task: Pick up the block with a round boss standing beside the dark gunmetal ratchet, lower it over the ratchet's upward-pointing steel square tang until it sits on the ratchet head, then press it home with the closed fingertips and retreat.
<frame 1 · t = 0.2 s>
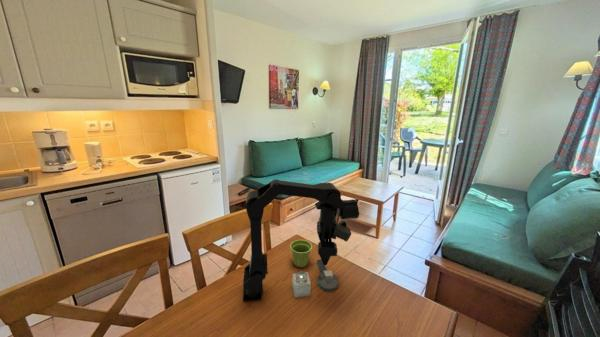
hand: (324, 256, 88), 14 cm above the table, tool pointing down, fingers open, 9 cm apart
block with round boss: (301, 290, 90), on the table
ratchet: (327, 283, 93), on the table
plant pot: (300, 263, 105), on the table
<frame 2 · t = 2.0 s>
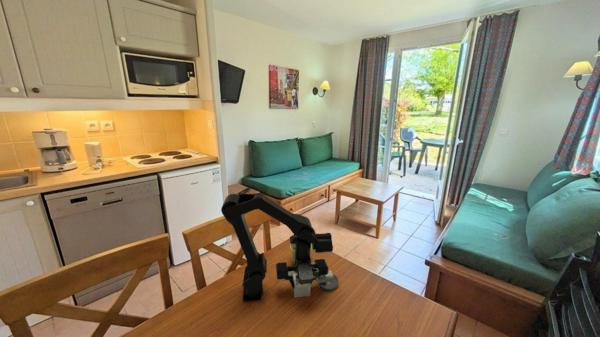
hand: (301, 287, 89), 2 cm above the table, tool pointing down, fingers closed on block with round boss, 6 cm apart
block with round boss: (301, 290, 90), on the table, touching gripper
everything else where it was.
when the fingers open (5 cm above the table, at t = 6.1 s): block with round boss drops 2 cm, resting on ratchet.
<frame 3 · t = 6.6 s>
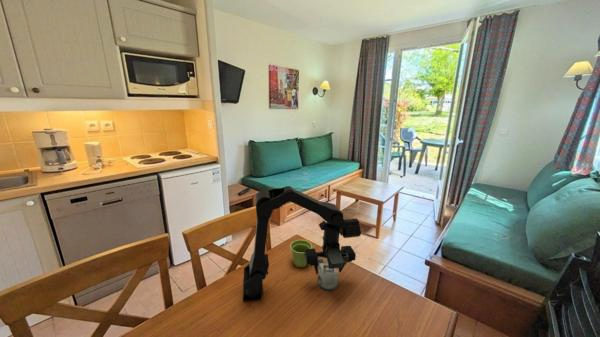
hand: (328, 273, 92), 5 cm above the table, tool pointing down, fingers open, 9 cm apart
block with round boss: (327, 279, 93), point 2 cm above the table, touching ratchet
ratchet: (327, 283, 93), on the table, touching block with round boss
everything else where it was.
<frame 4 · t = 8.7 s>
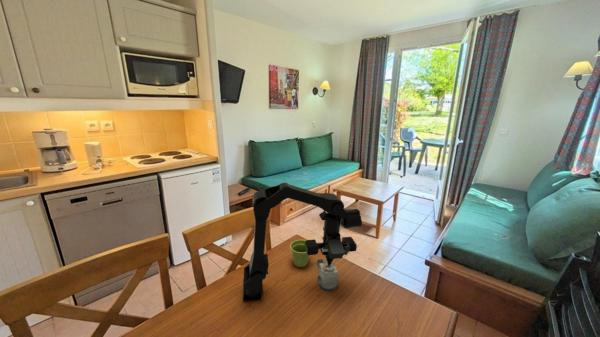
hand: (328, 264, 91), 9 cm above the table, tool pointing down, fingers closed, pressing on block with round boss
block with round boss: (327, 279, 93), point 2 cm above the table, touching gripper, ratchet
everything else where it was.
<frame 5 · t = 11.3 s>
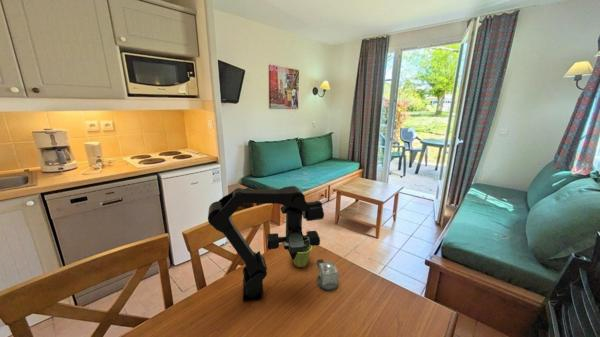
hand: (292, 259, 88), 12 cm above the table, tool pointing down, fingers closed
block with round boss: (327, 279, 93), point 2 cm above the table, touching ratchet
everything else where it was.
at the end: block with round boss 0.1 cm off-centre on the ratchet, point 2.0 cm above the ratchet's base; block with round boss tilted 0°; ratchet moved 0.0 cm from its start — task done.
